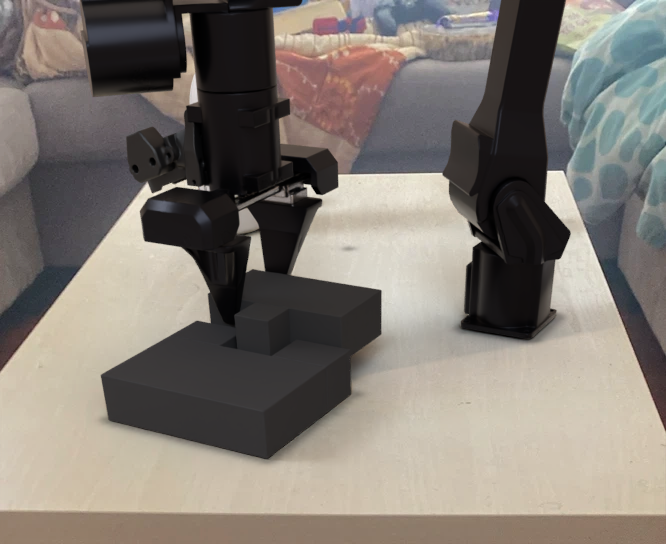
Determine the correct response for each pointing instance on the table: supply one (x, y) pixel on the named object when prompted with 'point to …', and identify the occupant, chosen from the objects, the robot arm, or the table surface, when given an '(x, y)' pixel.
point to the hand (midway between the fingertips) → (254, 309)
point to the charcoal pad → (227, 389)
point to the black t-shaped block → (302, 313)
